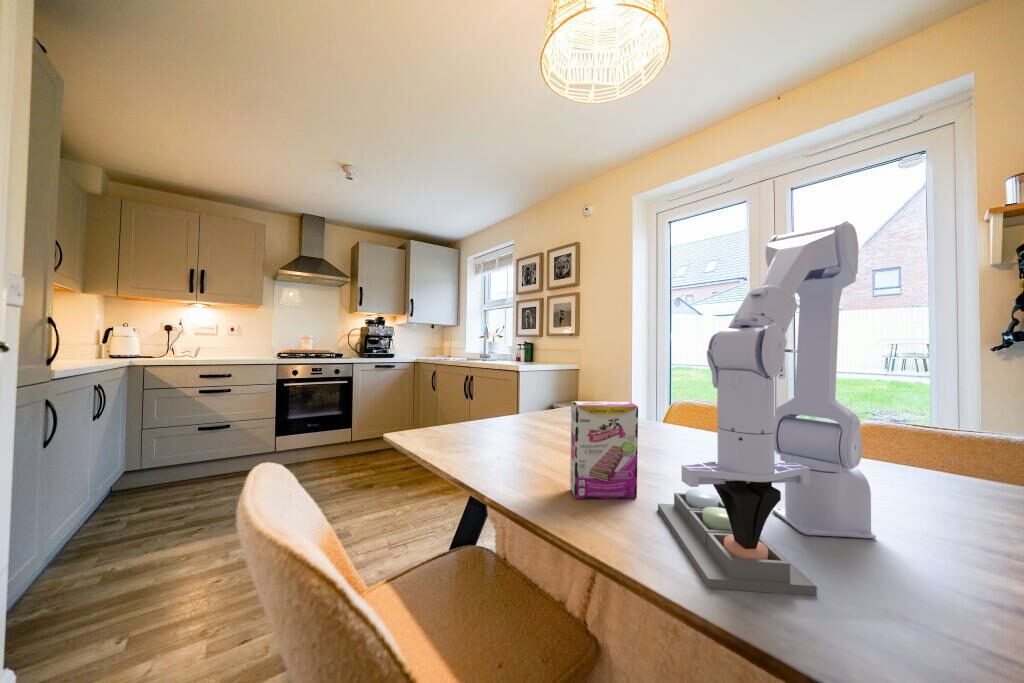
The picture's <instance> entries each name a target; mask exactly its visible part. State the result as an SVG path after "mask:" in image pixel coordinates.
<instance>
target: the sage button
mask: <svg viewBox="0 0 1024 683" xmlns="http://www.w3.org/2000/svg"><path fill="white" fill-rule="evenodd" d="M703 524H704V525H705V526H706V527H707V528H708V530H726V531H732V528H731V524H730V521H729V518H728V515H727V512H726V509H724V508H719V507H706V508H704V509H703Z"/></svg>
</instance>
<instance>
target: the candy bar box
mask: <svg viewBox="0 0 1024 683" xmlns="http://www.w3.org/2000/svg"><path fill="white" fill-rule="evenodd" d="M570 410H571V415H570V416H571V418H570V419H571V420H570V469H569V472H570V473H569V474H570V477H569V478H570V480H569V482H570V483H569V486H570V488H569V489H570V491H571V492H572V494H573V497H574V499H637V498H638V496H637V494H638V445H639V444H638V441H639V435H638V434H639V433H638V432H639V431H638V430H639V429H638V428H639V406H638V405H636V404H635V403H633V402H629V401H593V400H592V401H590V400H589V401H586V400H585V401H584V400H580V401H578V400H577V401H576V400H575V401H571V407H570Z"/></svg>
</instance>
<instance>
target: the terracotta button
mask: <svg viewBox="0 0 1024 683" xmlns="http://www.w3.org/2000/svg"><path fill="white" fill-rule="evenodd" d="M724 548H725V550H726V551H727V552H728V553H729V554H730V555H731V557H732V558H745V559H762V560H768V548H767V547H766V546H765V545H764V544H763V543H761V542H760V541H759V542H758V545H757V548H756V549H745V548H743V547H742V546H741V545H739V544H738V543H737V542H736V541H734V536H733V535H729V536H726V537H725V538H724Z"/></svg>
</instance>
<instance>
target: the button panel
mask: <svg viewBox="0 0 1024 683" xmlns="http://www.w3.org/2000/svg"><path fill="white" fill-rule="evenodd" d="M718 507H719V508H724V509H725V507H724V505H723V502H722V500H721V498H719V497H718ZM657 511H658V512H659V513H660V516H661V517H662V518H663V521H664V522H665V523H666V524H667V526H668V528H669V529H670V531H671V532H672V534H673V536H675V539H676V540H677V541H678V543H679V544H680V546H681V548H682V549H683V551H684V552H685V553H686V555H687V557H688V558H689V560H690V561H691V563H692V565H693V566H694V568H695V569H696V571H697V572H698V574H699V576H700V577H701V579H702V580H703V582H704V584H705V585H706V587H707V588H708V589H717V590H732V591H744V592H745V591H747V592H760V593H761V592H762V593H776V594H789V595H800V596H801V595H804V596H818V595H817V594H818V590H817V589H818V588H817V585H816V584H815V583H814V582H813V581H812V580H811V579H810V578H808V577H807V576H806V575H805V574H804V573H803V572H802V571H801V570H799V569H798V567H797V566H795V565H794V564H793V563H792V562H790V560H789V559H787V558H786V557H785V556H784V554H782V553H781V552H780V551H779V550H777V548H776V547H774V546H773V545H772V544H771V543H770V542H768V540H767V539H766V538H764V536H762V534H761V535H760V538H759V541H760V542H761V543H763V544H764V545H765V546H766V547H767V548H768V560H762V559H745V558H732V557H731V555H730V554H729V553H728V552H727V551H726V550H725V548H724V538H725V537H726V536H729V535H733V532H732V531H726V530H708V528H707V527H706V526H705V525H704V524H703V509H700V508H690V507H689V506H688V505H687V504H686V492H684V493H683V492H674V493H673V503H657Z"/></svg>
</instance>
